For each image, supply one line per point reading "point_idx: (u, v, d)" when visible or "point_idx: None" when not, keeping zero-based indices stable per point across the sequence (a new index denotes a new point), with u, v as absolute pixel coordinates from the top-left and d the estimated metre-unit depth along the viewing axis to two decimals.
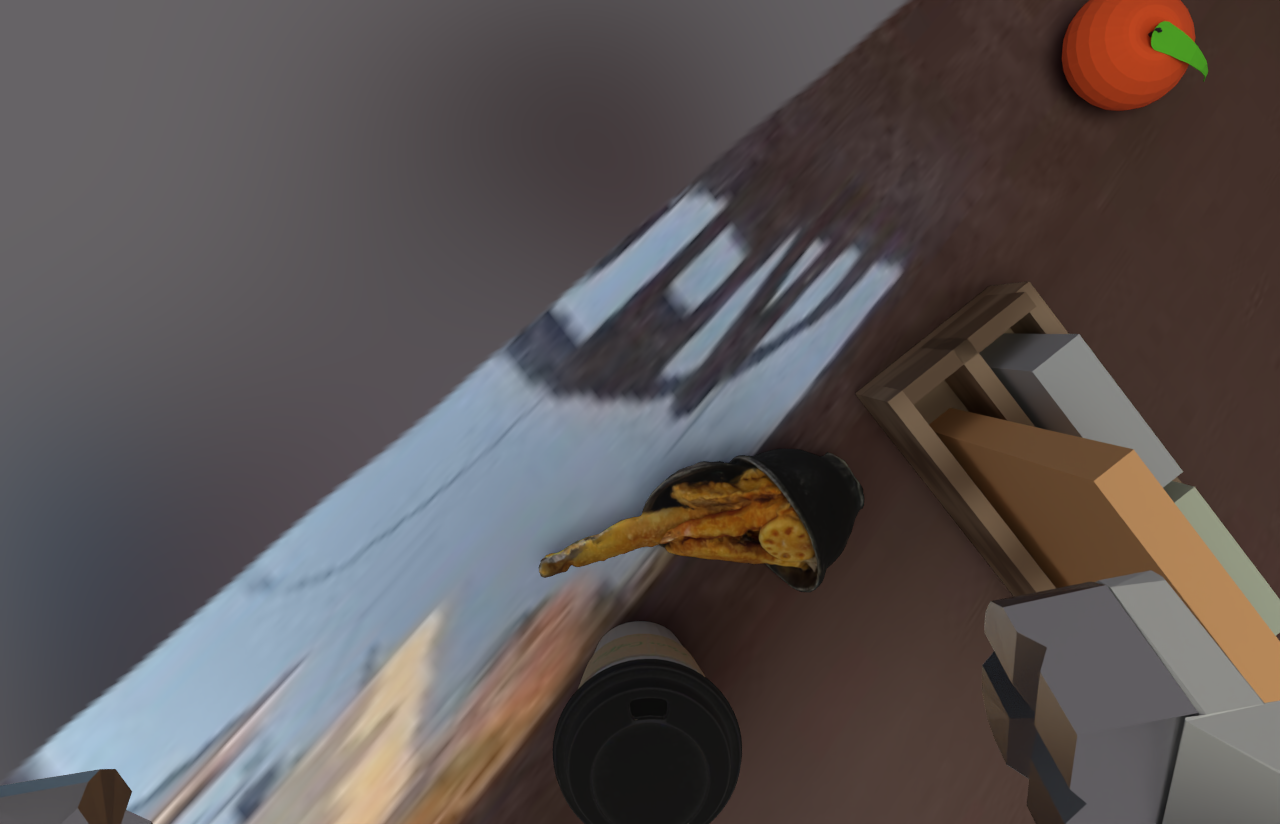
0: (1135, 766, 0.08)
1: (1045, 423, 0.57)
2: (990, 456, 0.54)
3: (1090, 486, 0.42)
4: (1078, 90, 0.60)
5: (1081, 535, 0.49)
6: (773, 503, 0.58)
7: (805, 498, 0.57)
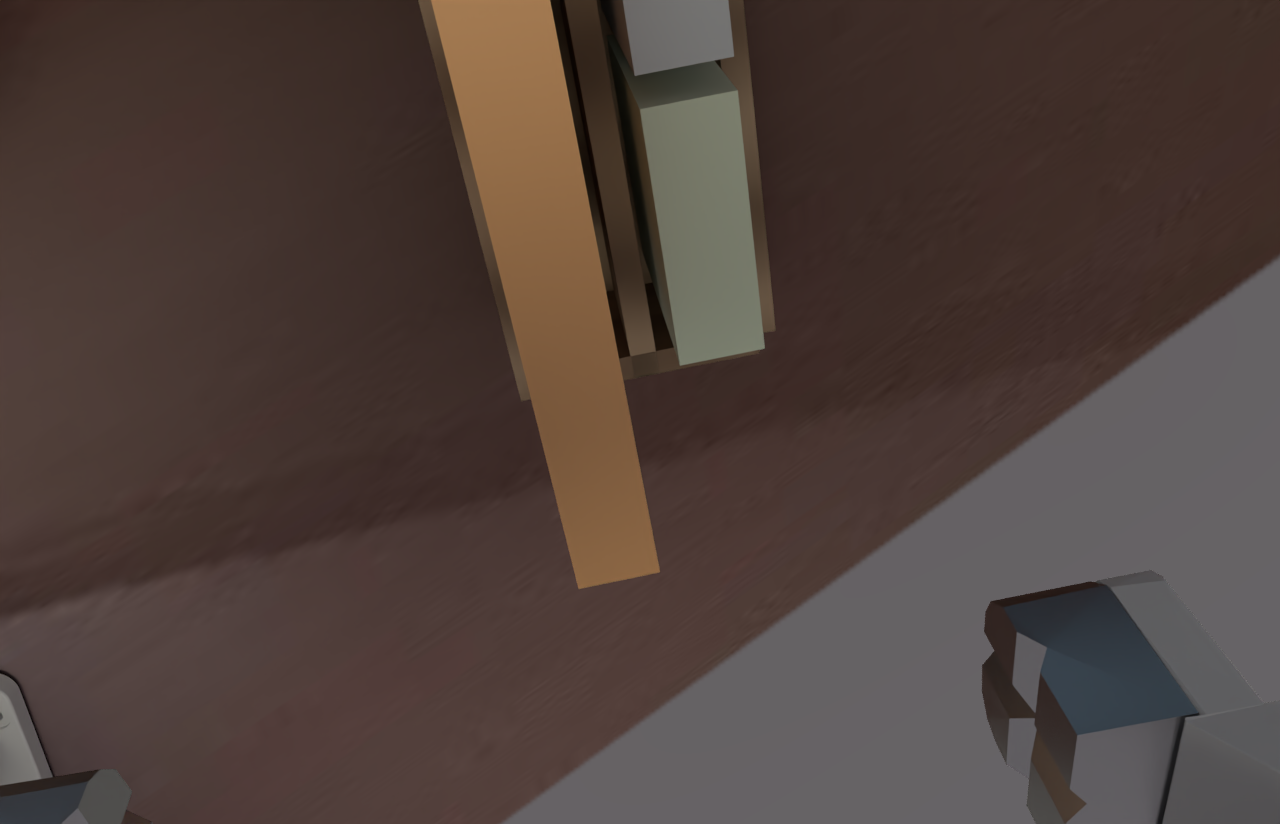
0: (1135, 766, 0.08)
1: None
2: None
3: None
4: None
5: None
6: None
7: None
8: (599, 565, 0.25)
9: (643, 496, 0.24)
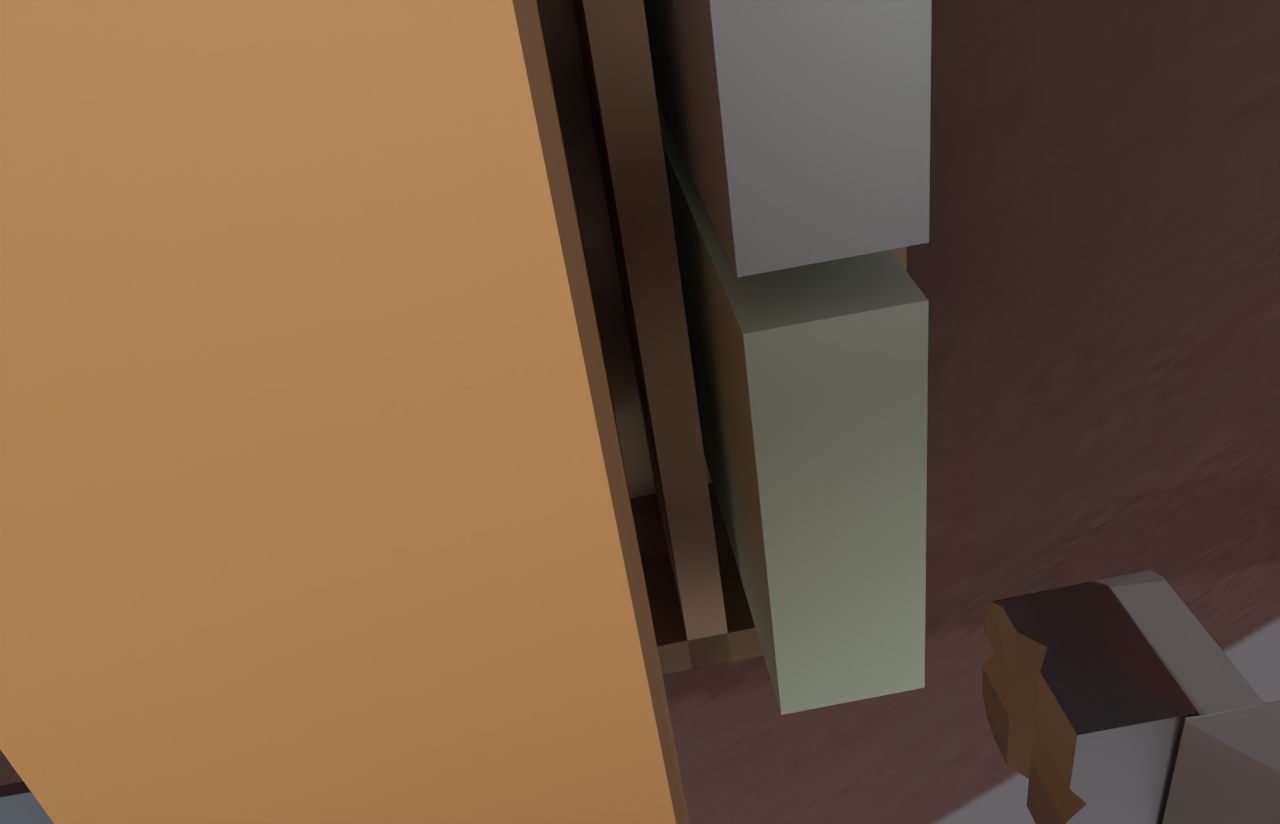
0: (1135, 766, 0.08)
1: None
2: None
3: None
4: None
5: None
6: None
7: None
8: None
9: None
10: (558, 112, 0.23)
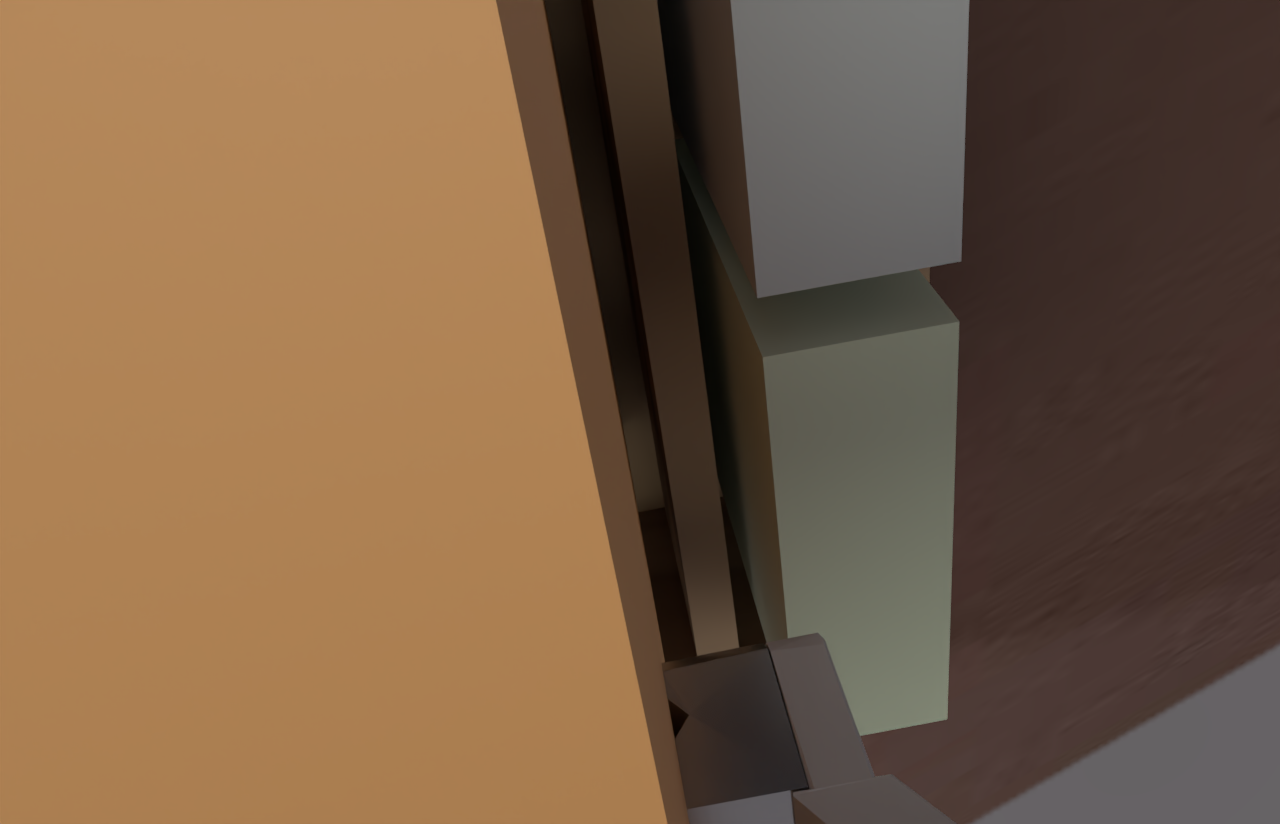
0: None
1: None
2: None
3: None
4: None
5: None
6: None
7: None
8: None
9: None
10: None
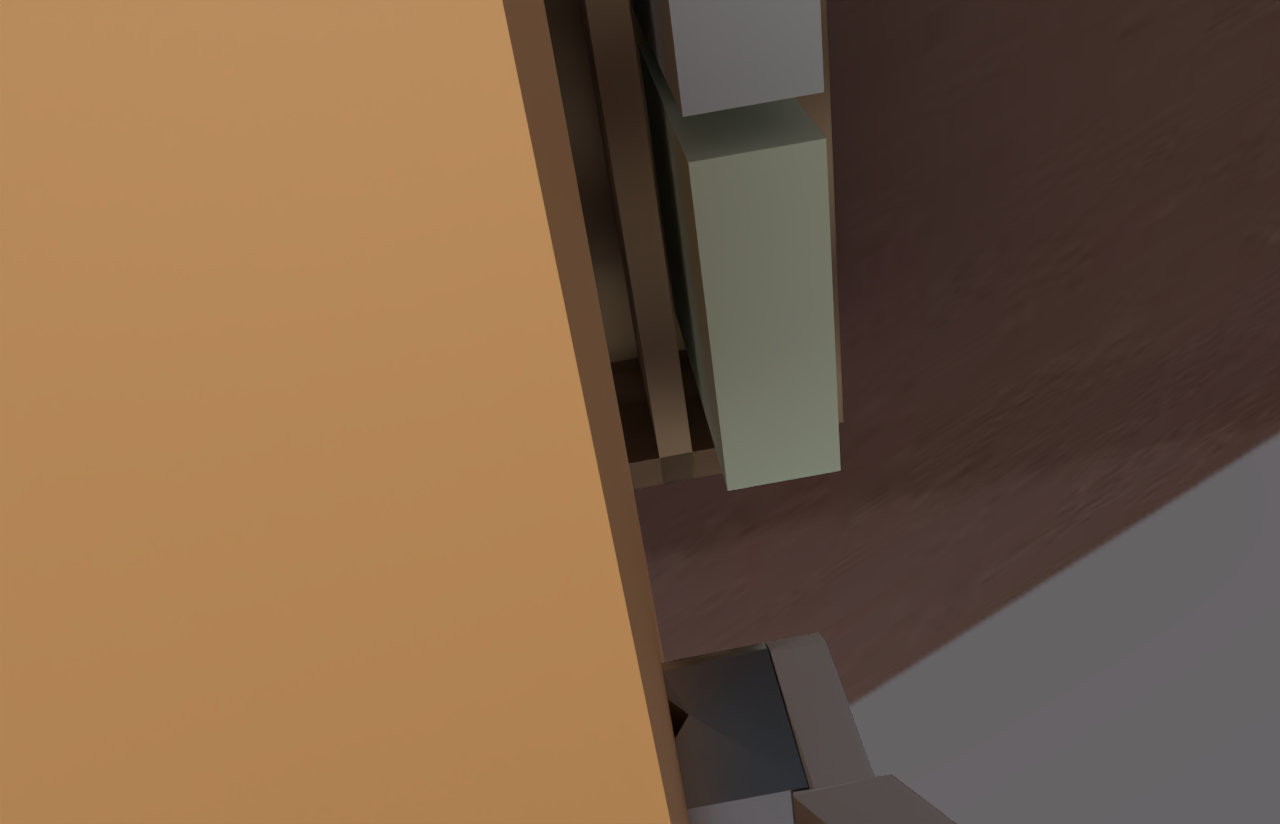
0: None
1: None
2: None
3: None
4: None
5: None
6: None
7: None
8: None
9: None
10: None
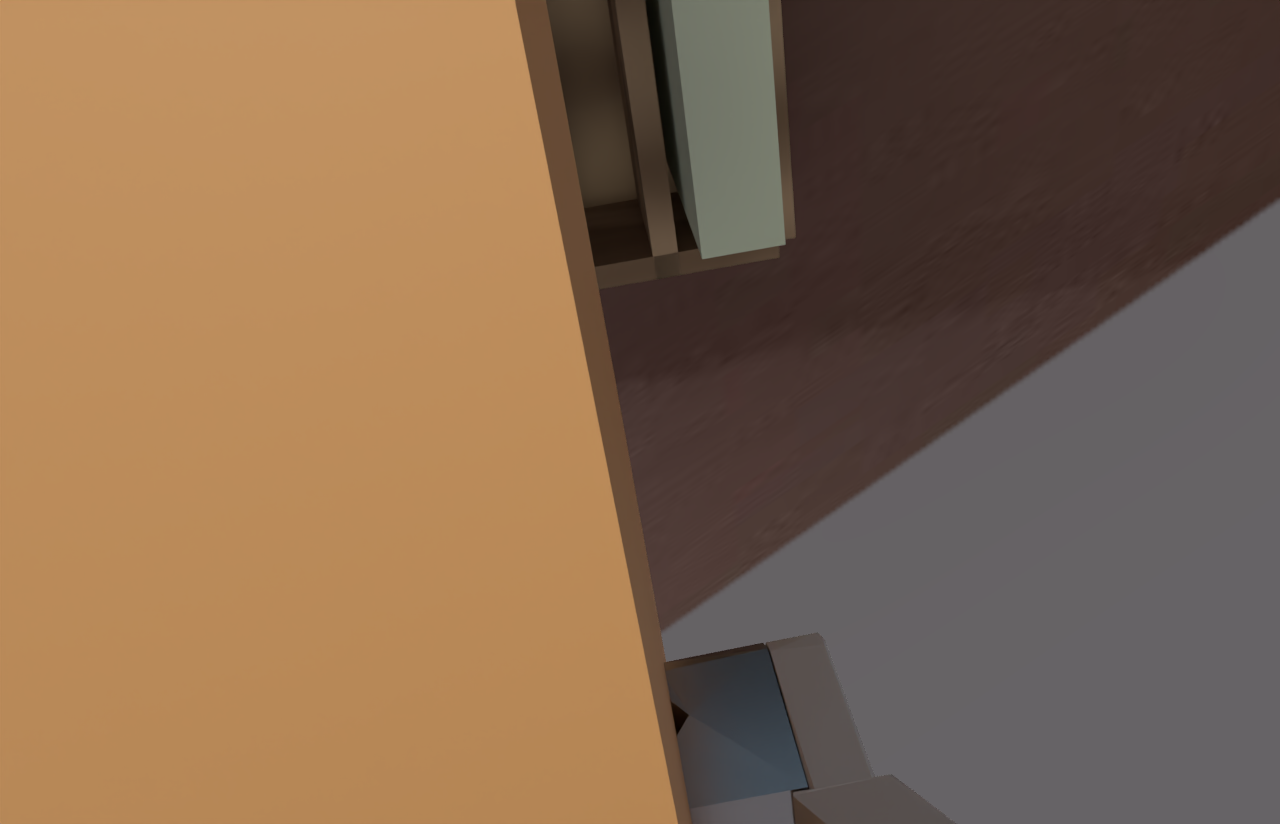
0: None
1: None
2: None
3: None
4: None
5: None
6: None
7: None
8: None
9: None
10: None
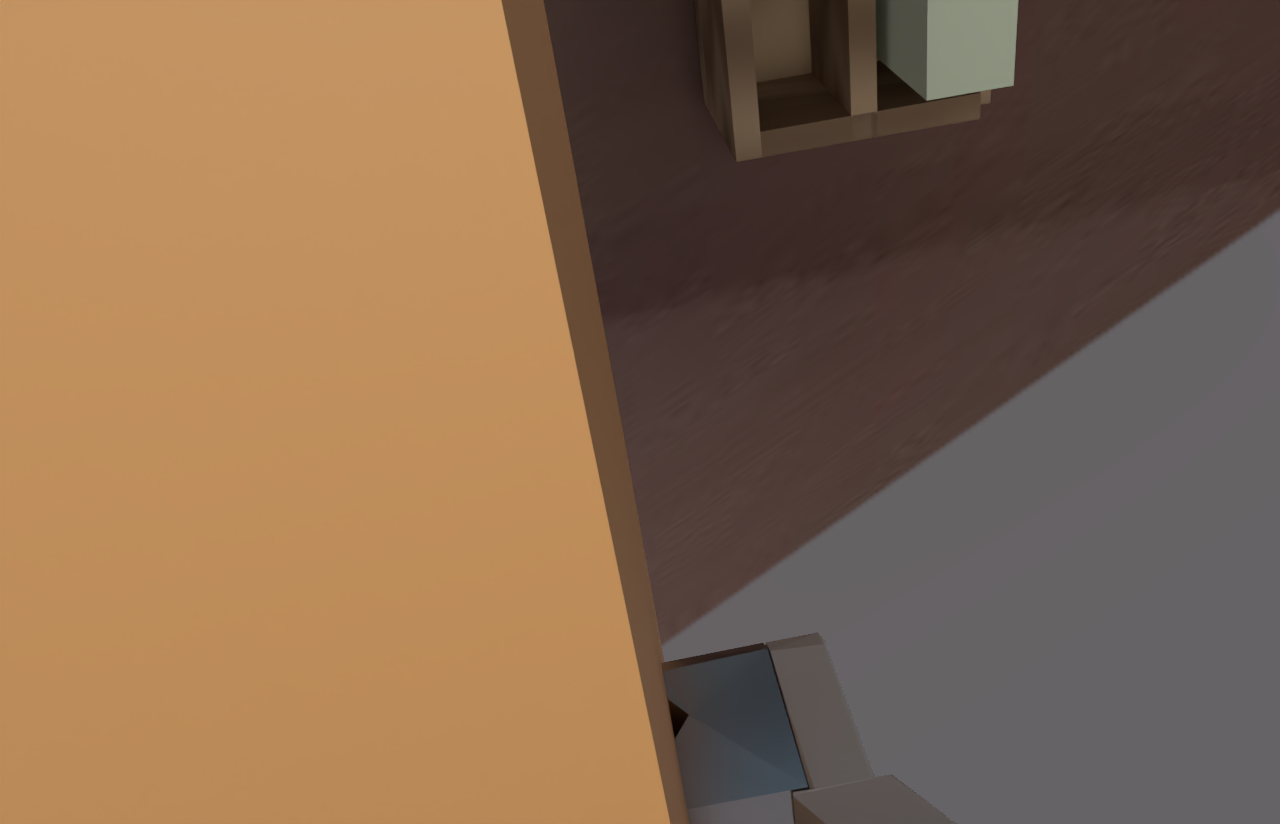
0: None
1: None
2: None
3: None
4: None
5: None
6: None
7: None
8: None
9: None
10: None
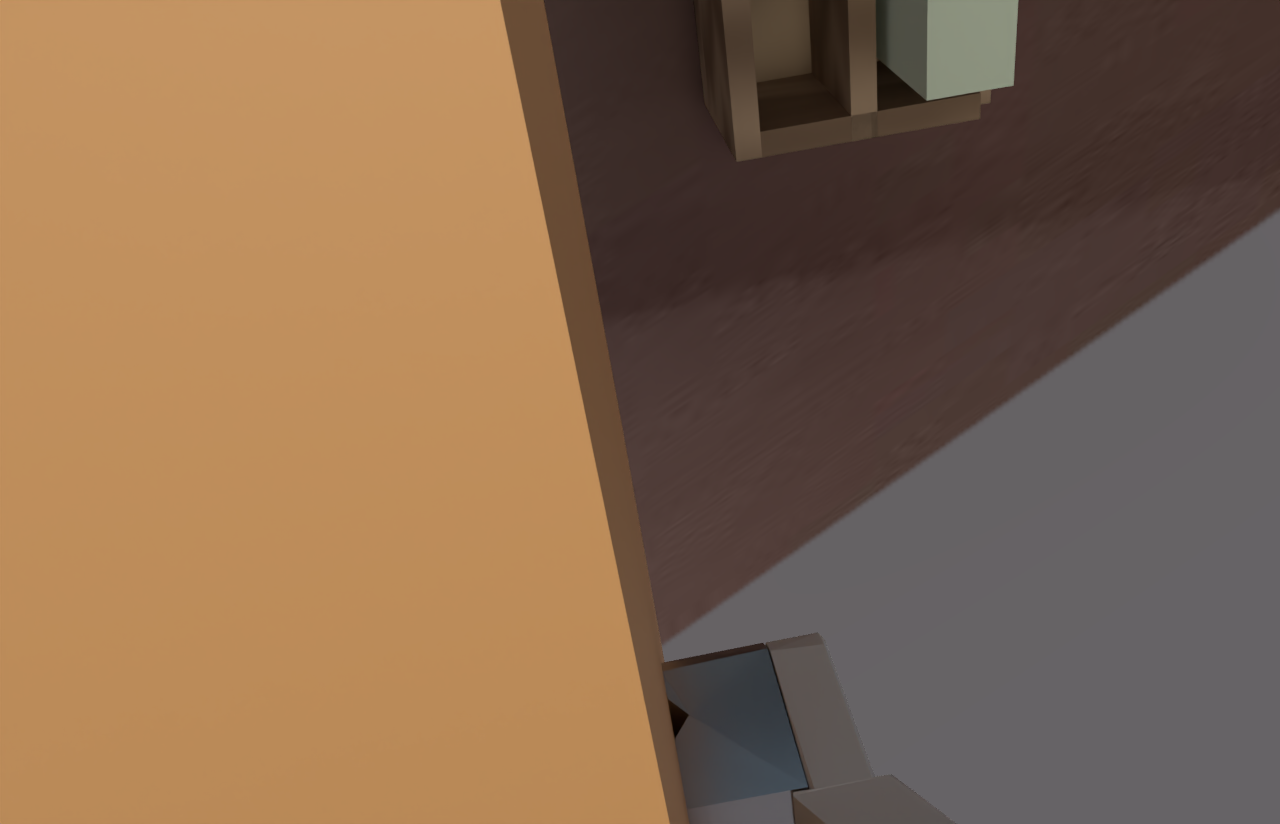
0: None
1: None
2: None
3: None
4: None
5: None
6: None
7: None
8: None
9: None
10: None
